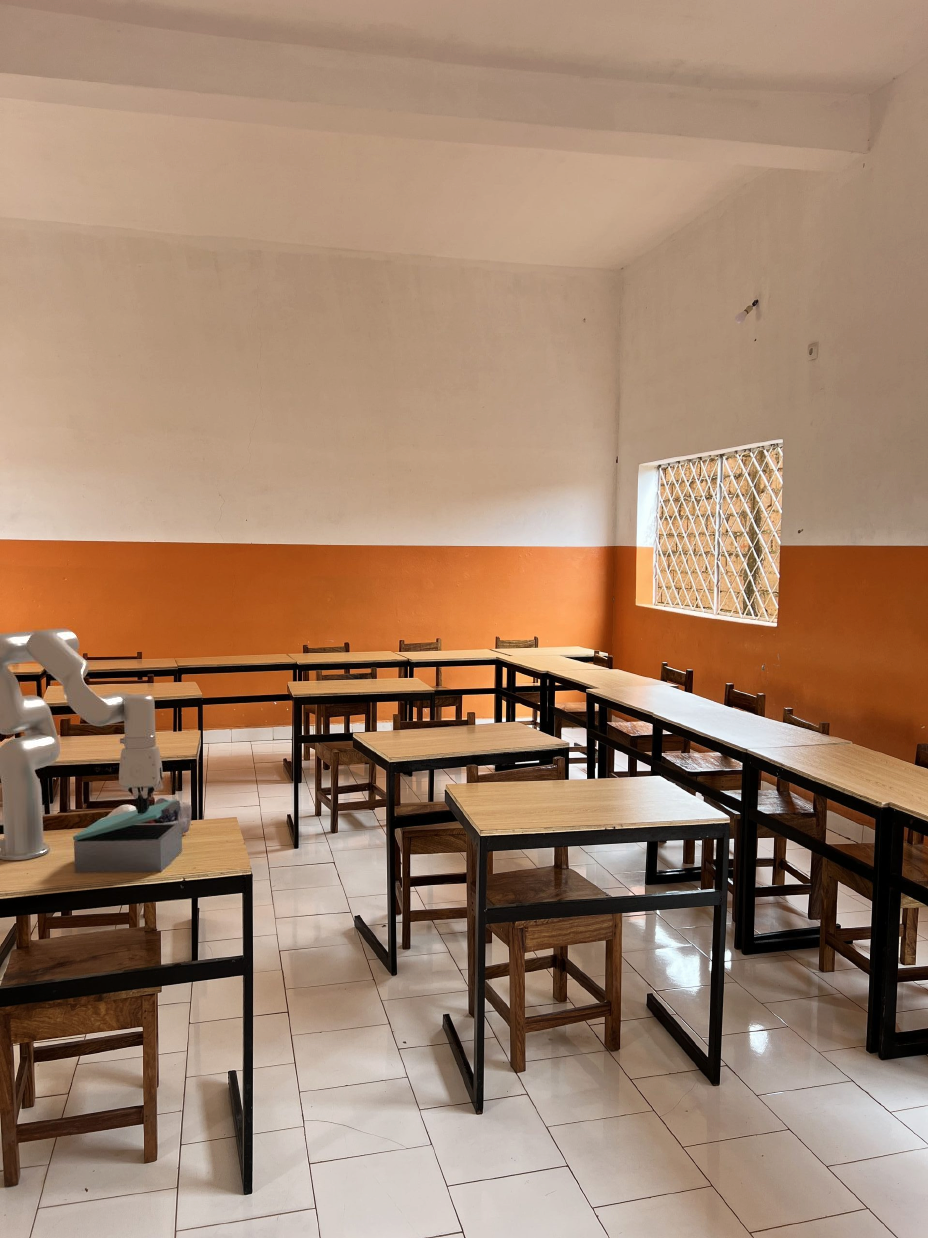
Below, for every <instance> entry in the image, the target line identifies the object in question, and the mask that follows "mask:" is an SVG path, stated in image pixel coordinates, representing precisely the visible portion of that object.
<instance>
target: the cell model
mask: <svg viewBox="0 0 928 1238" xmlns="http://www.w3.org/2000/svg"><path fill="white" fill-rule="evenodd" d="M171 800H175V799H174V798H173V799H172V798H169V797H160V798H158V799H156V800H155V801H154V805H156V804H160V803H164V802H168V801H171ZM178 801H179V802H180V805H179V806H178V807H177V808H176V809H174V810H173V811H172V812H170V813H167V814H164V815H163V814H162V815H161V816H160V817H158V818H157V819H154V820H150V821H146V822H142V823H139V824H154V823H181V831H182V835H183V834H186V832H187V833H188V832H189V830H190V827H191V822H192V806H191V805H192V804H191V803H189V802H185V801H181V800H178Z"/></svg>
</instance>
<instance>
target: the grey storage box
mask: <svg viewBox="0 0 928 1238" xmlns="http://www.w3.org/2000/svg"><path fill="white" fill-rule="evenodd" d="M182 835H183V834H182V831H181V823H154V824H135V825H131V826H127V827H124V828H120V829H116V830H112V831H109V832H105V833H101V834H97V835H94V836H90V837H86V838H82V839H79V840H75V841H74V840H73V852H74V853H73V855H74V873H75V874H77V873H80V874H82V873H85V874H87V873H88V874H89V873H91V874H92V873H96V874H97V873H162V872H163V871H164V870H166V868H167V867H169V866H170V865H171V863H173V862H172V861H173V860H174V859H175V858H176V857H177V856H178V855H179V854H180V853H181V852H182V853H183V842H182V841H183V838H182V837H183V836H182ZM182 853H181V854H182ZM181 854H180V855H181ZM180 855H179V856H180ZM179 856H178V857H179ZM178 857H177V858H178ZM177 858H176V859H177ZM176 859H175V860H176ZM175 860H174V861H175Z"/></svg>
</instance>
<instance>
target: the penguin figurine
mask: <svg viewBox="0 0 928 1238" xmlns="http://www.w3.org/2000/svg"><path fill="white" fill-rule="evenodd" d="M134 810H136V806H134V805H131V804H123V805H120V806H118V807H116V808H114V809H113V810H112V811H111V812H110V813H109V814H108V815H107V816H105V817H101V818H100V819H104V818H108V817H111V816H115V815H119V814H123V813H126V812H130V811H134Z"/></svg>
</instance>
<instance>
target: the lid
mask: <svg viewBox="0 0 928 1238" xmlns="http://www.w3.org/2000/svg"><path fill="white" fill-rule="evenodd" d="M179 801H180V800H178V798H176V799H174V800H171V801H168V802H164V803H160V804H156V805H149V809H148V811H147V812H145V813H144V814H142V813H140V814H138V813H137V810H134V811H130V812H126V813H123V814H119V815H115V816H111V817H108V818H105V817H103V818H104V819H101V818H100V819H98V820H97V821H96V822H93V823H92V824H90V825H89V826H87V827H86V828H84V829H83V830H81V831H80V832H78V833H76V834H75V835H74V836H72V838H73V842H74V841H75V840H79V839H82V838H86V837H90V836H94V835H97V834H101V833H105V832H109V831H112V830H116V829H120V828H124V827H127V826H131V825H135V824H139V823H142V822H146V821H150V820H154V819H157V818H158V817H160V816H161V815H162V814H163V815H164V814H167V813H170V812H172V811H173V810H174V809H176V808H177V807H178V806H179V805H180V802H179Z"/></svg>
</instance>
